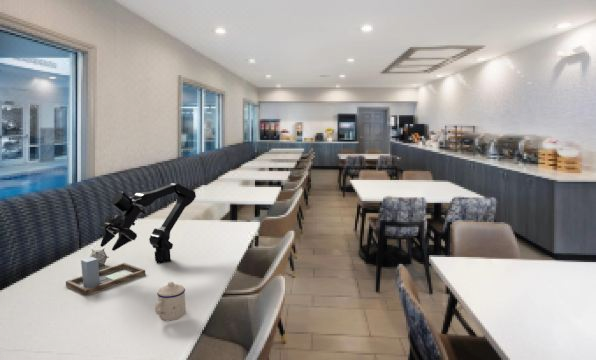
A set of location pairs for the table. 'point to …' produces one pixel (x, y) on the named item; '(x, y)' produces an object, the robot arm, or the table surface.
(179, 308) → the teacup with lid
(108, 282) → the frame
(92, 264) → the slate-blue block
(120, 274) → the pad
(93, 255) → the game die
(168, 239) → the robot arm
